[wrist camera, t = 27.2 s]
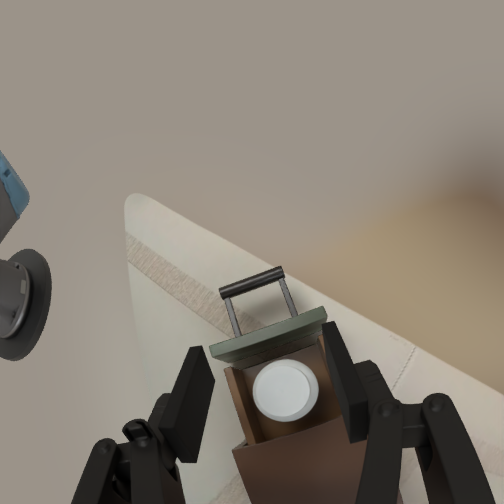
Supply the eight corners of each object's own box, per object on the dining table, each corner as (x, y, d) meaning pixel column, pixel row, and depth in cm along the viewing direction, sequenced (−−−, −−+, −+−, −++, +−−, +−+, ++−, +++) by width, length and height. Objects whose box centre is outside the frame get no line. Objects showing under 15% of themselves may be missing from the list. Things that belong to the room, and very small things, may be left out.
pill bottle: (323, 373, 28) (330, 367, 19) (305, 420, 26) (304, 435, 17) (275, 358, 30) (260, 345, 21) (257, 404, 28) (234, 411, 19)
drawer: (211, 304, 35) (193, 288, 30) (301, 271, 35) (299, 249, 29) (258, 455, 26) (247, 468, 21) (359, 420, 26) (370, 427, 21)
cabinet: (248, 437, 28) (231, 450, 21) (356, 400, 28) (370, 403, 21) (283, 529, 21) (276, 559, 15) (389, 495, 21) (407, 518, 14)
